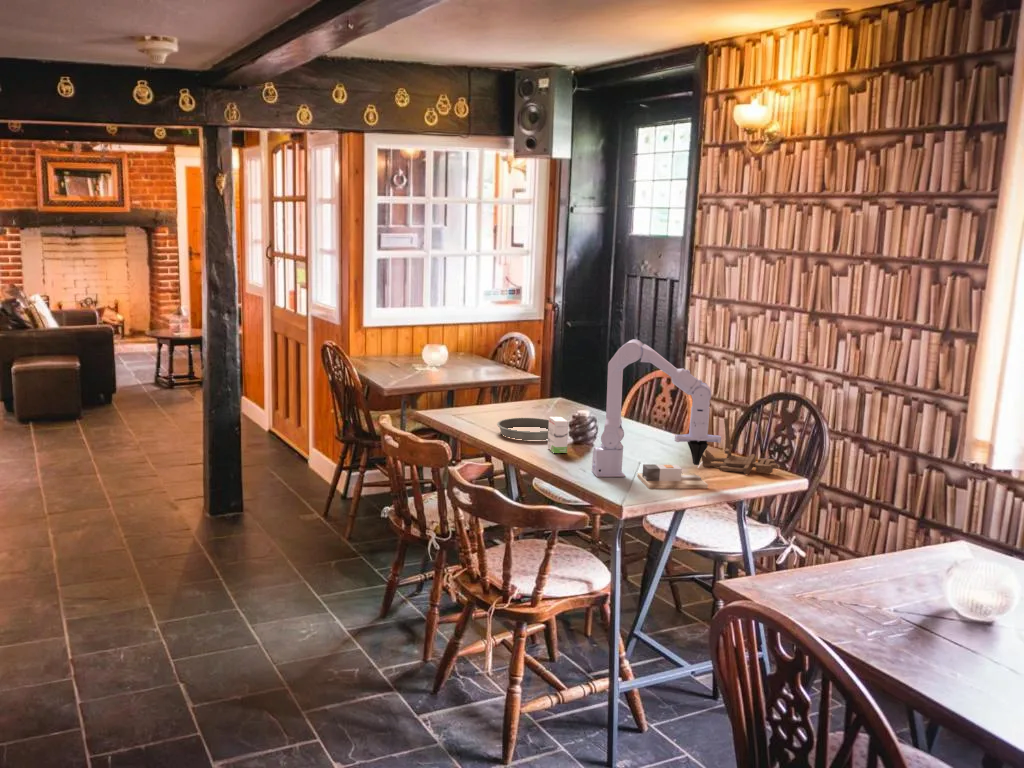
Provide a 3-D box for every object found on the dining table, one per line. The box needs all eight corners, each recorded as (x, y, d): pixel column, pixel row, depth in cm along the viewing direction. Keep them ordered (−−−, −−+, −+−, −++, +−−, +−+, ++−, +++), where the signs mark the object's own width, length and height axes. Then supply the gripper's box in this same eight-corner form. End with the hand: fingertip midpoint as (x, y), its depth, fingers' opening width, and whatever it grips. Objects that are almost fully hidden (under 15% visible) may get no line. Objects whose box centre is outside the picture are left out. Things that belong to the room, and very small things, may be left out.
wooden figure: (705, 414, 324) (779, 417, 312) (710, 460, 331) (783, 465, 318) (693, 431, 313) (769, 435, 301) (698, 479, 319) (773, 485, 307)
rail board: (648, 488, 292) (649, 471, 291) (637, 476, 305) (638, 461, 304) (707, 488, 295) (709, 472, 294) (694, 477, 307) (695, 461, 306)
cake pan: (483, 432, 360) (484, 421, 359) (534, 426, 375) (534, 415, 374) (523, 446, 341) (524, 434, 340) (575, 439, 356) (575, 427, 355)
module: (659, 481, 296) (660, 468, 295) (654, 476, 301) (655, 463, 300) (680, 481, 297) (681, 468, 296) (676, 476, 302) (677, 464, 301)
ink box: (567, 454, 331) (569, 421, 329) (553, 454, 330) (555, 421, 328) (559, 448, 339) (561, 416, 337) (546, 448, 338) (548, 416, 336)
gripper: (680, 424, 292) (677, 467, 295) (726, 425, 295) (722, 467, 297) (674, 419, 299) (670, 461, 302) (718, 420, 301) (714, 461, 304)
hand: (695, 464), depth 300 cm, fingers closed
